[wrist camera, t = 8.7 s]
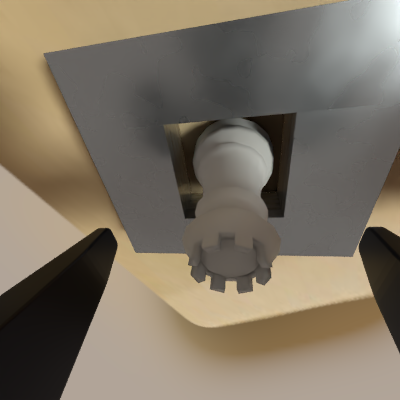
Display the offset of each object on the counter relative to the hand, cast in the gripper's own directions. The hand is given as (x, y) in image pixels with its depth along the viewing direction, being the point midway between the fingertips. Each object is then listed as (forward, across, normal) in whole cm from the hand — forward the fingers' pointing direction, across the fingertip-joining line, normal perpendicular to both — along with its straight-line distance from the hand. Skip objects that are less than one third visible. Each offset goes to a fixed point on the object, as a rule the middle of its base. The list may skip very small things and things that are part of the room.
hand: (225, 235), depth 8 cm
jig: (+6, 0, 0) cm, 6 cm away
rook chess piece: (+7, 0, 0) cm, 7 cm away
